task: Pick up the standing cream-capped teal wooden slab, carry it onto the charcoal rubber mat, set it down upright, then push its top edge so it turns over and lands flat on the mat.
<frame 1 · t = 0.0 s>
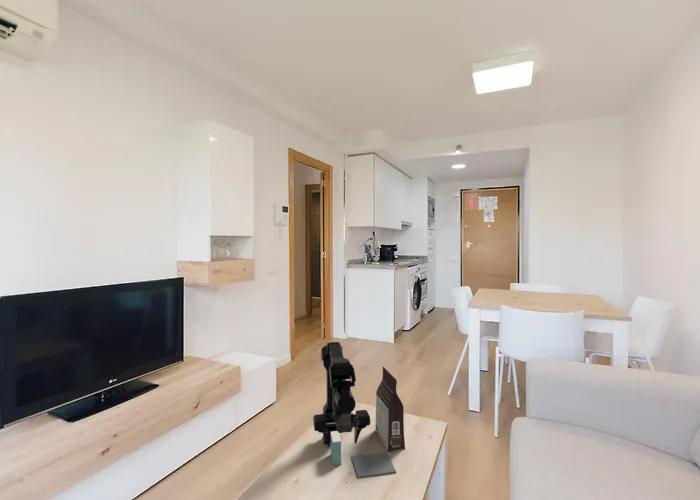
hand: (341, 444, 118), 15 cm above the table, fingers open, 9 cm apart
mat: (372, 464, 130), on the table
protein powder: (389, 439, 147), on the table
slab: (335, 459, 134), on the table
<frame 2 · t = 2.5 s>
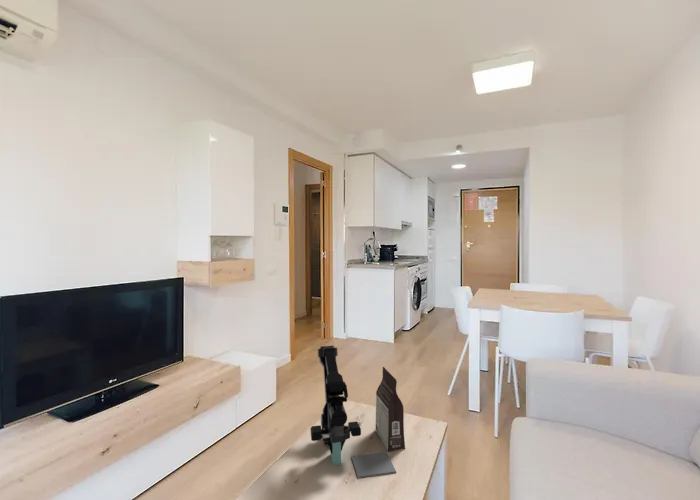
hand: (335, 452, 134), 3 cm above the table, fingers closed on slab, 3 cm apart
slab: (335, 459, 134), on the table, touching gripper
everything else where it was.
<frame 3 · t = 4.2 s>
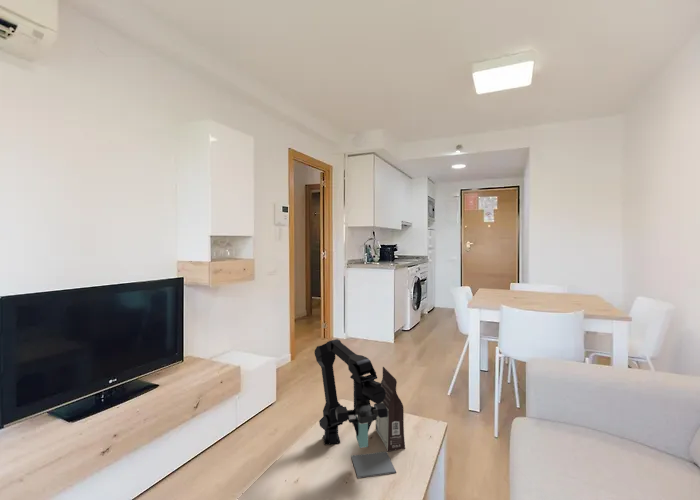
hand: (361, 434, 129), 12 cm above the table, fingers closed on slab, 3 cm apart
slab: (361, 441, 129), point 9 cm above the table, touching gripper
everything else where it was.
when the fingers open (4 cm above the table, at t = 5.8 s): slab stays where it is, resting on mat.
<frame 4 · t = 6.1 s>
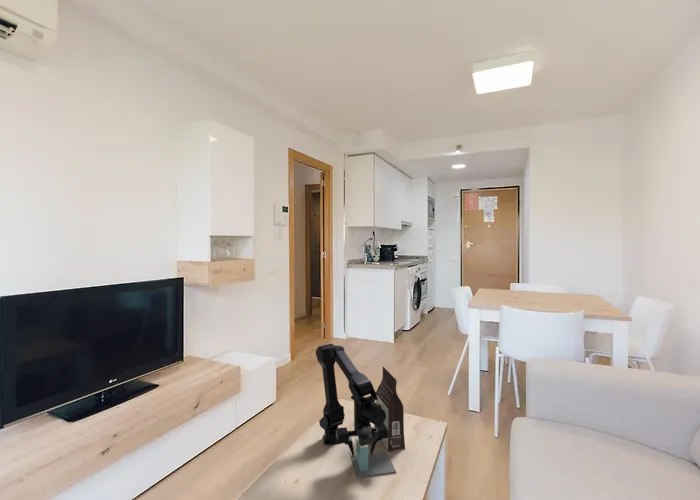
hand: (362, 455, 130), 4 cm above the table, fingers open, 7 cm apart
slab: (362, 464, 130), point 1 cm above the table, touching mat
everything else where it was.
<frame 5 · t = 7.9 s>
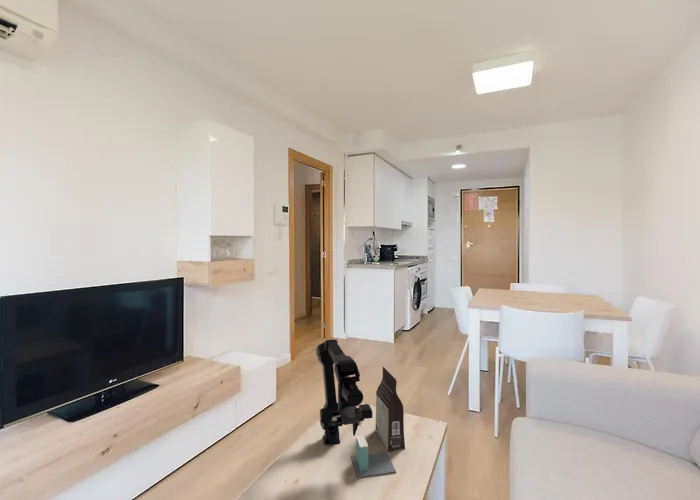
hand: (346, 436, 128), 12 cm above the table, fingers open, 5 cm apart
nothing on the table moved.
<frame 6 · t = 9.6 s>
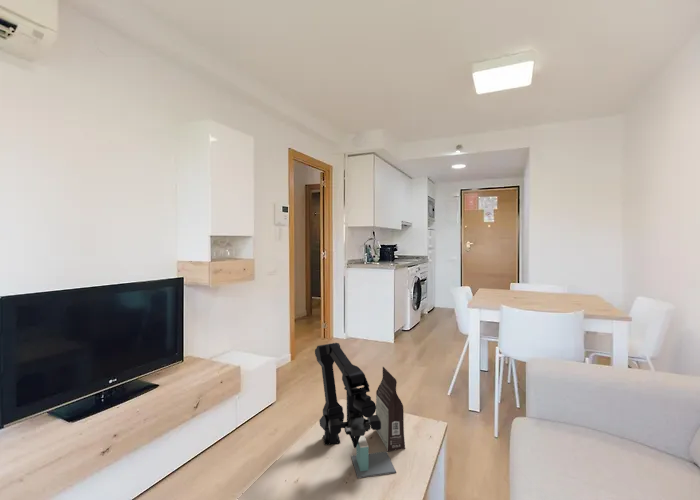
hand: (354, 447, 129), 8 cm above the table, fingers closed
slab: (362, 464, 130), point 1 cm above the table, touching gripper, mat
everything else where it was.
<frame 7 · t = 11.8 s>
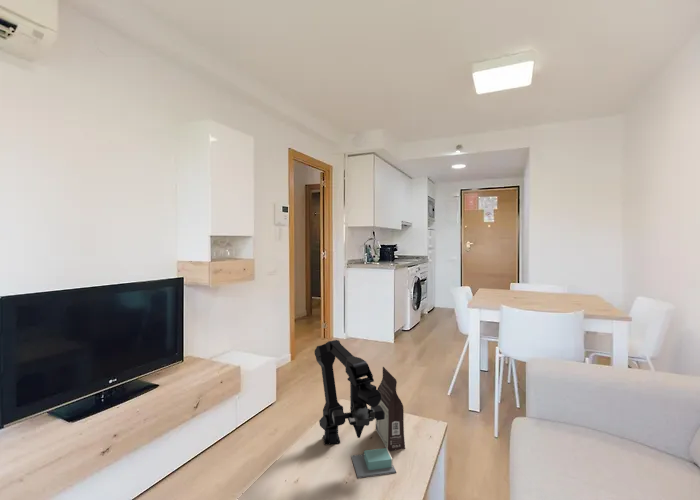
hand: (358, 437, 129), 11 cm above the table, fingers closed
slab: (366, 460, 130), point 2 cm above the table, tilted 90°, touching mat
everything else where it was.
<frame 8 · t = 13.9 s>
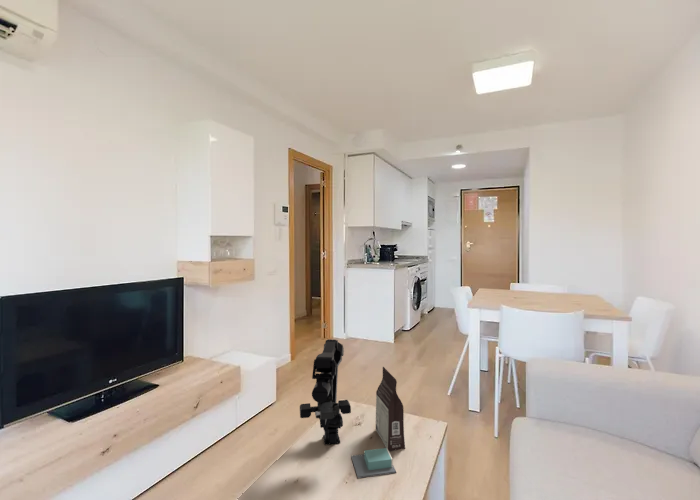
hand: (325, 430, 132), 12 cm above the table, fingers closed
nothing on the table moved.
at the end: slab tilted 90°; slab inside the target area on the mat (2.5 cm from its centre), point 2.1 cm above the mat's base; the gripper is holding nothing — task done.
